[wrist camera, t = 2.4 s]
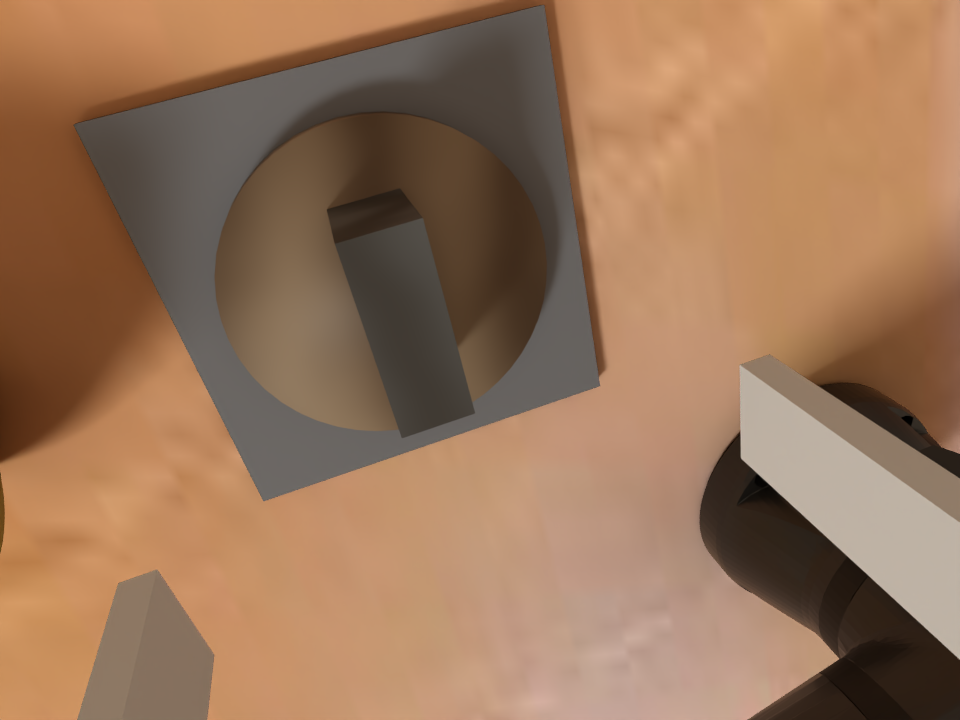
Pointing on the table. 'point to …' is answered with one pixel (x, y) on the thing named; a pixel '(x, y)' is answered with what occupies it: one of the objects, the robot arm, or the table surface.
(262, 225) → the lid
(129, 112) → the mat
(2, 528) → the flower pot
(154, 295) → the table surface
